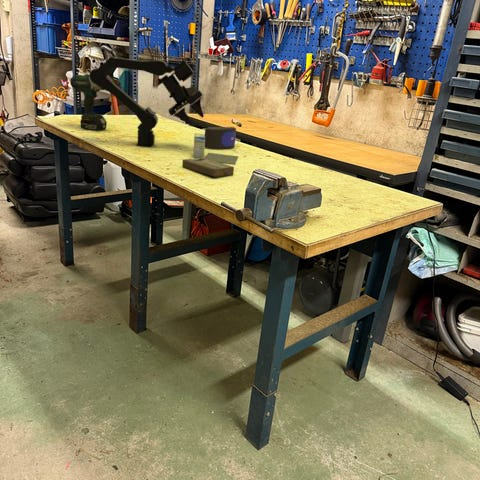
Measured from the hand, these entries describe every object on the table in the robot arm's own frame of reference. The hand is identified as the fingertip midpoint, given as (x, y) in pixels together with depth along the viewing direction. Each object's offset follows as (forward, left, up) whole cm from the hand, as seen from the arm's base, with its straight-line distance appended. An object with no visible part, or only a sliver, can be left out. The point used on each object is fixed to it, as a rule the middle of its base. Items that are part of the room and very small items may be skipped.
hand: (196, 120), depth 184 cm
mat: (+12, -13, -12) cm, 22 cm away
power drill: (-49, +22, -13) cm, 55 cm away
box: (+8, -34, -13) cm, 38 cm away
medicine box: (+3, -12, -13) cm, 18 cm away
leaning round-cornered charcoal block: (+10, +9, -13) cm, 19 cm away
